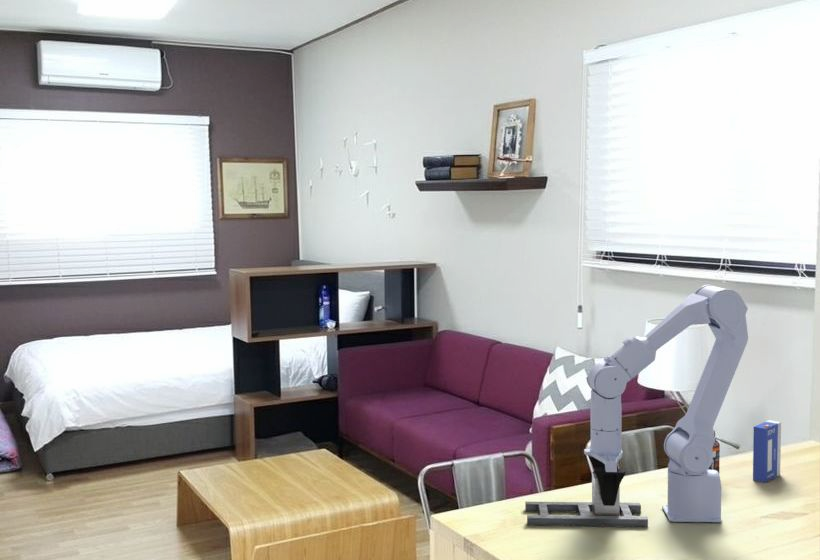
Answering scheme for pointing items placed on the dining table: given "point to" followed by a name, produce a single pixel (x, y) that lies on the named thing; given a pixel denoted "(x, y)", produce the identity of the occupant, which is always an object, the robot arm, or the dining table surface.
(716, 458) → the supplement bottle
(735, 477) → the dining table surface
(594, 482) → the steel peg
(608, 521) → the rail
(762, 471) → the walkman
